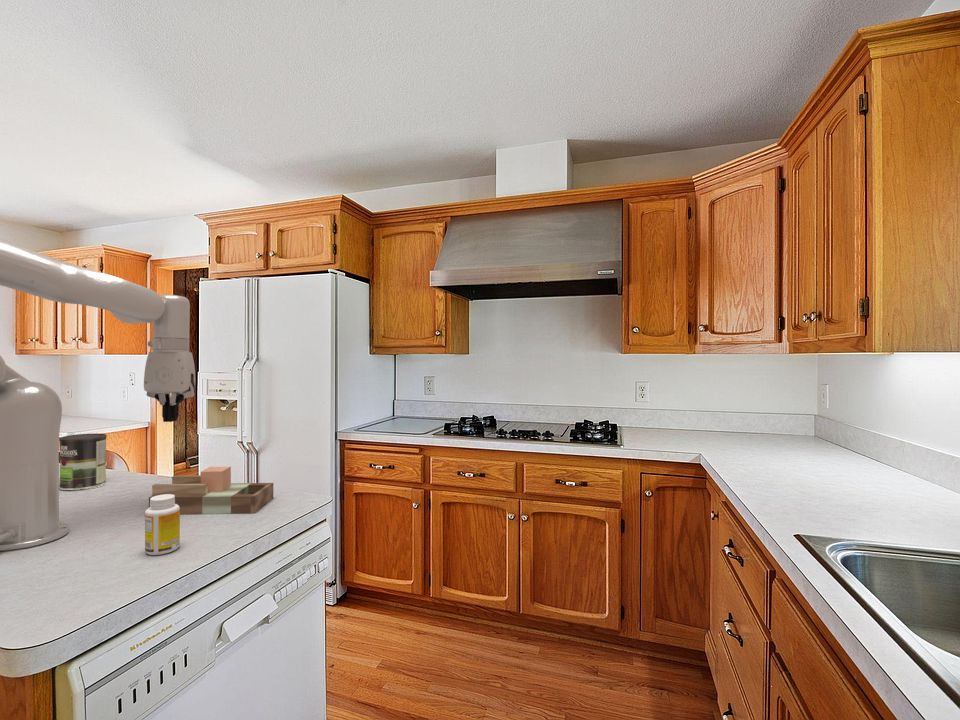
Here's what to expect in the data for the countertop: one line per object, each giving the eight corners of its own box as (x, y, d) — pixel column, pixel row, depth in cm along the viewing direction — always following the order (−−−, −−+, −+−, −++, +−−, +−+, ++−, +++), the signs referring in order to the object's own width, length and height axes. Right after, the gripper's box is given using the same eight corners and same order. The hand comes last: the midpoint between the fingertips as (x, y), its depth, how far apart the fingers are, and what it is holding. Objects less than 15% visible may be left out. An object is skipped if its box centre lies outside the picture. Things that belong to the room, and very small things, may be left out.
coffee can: (76, 492, 129) (76, 440, 129) (49, 489, 132) (49, 438, 132) (115, 483, 139) (115, 434, 138) (90, 480, 142) (90, 432, 142)
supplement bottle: (185, 544, 95) (185, 492, 95) (170, 555, 89) (170, 501, 89) (155, 545, 94) (155, 493, 94) (138, 556, 89) (138, 501, 88)
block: (222, 491, 117) (222, 471, 117) (200, 492, 116) (200, 471, 116) (230, 486, 122) (230, 466, 122) (210, 486, 121) (210, 466, 121)
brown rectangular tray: (255, 513, 113) (255, 485, 113) (148, 514, 112) (148, 486, 111) (273, 498, 125) (273, 473, 125) (177, 499, 123) (177, 474, 123)
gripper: (129, 345, 113) (128, 423, 113) (194, 346, 114) (193, 423, 114) (149, 346, 121) (148, 419, 121) (210, 347, 121) (209, 419, 121)
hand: (170, 421), depth 117 cm, fingers closed
